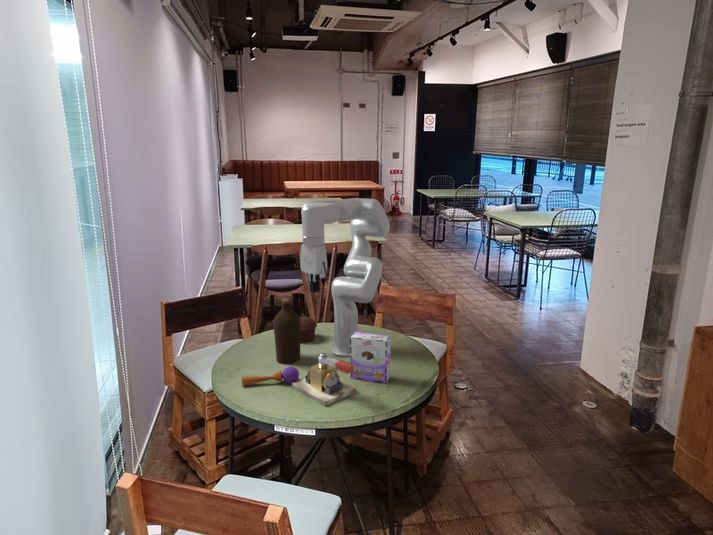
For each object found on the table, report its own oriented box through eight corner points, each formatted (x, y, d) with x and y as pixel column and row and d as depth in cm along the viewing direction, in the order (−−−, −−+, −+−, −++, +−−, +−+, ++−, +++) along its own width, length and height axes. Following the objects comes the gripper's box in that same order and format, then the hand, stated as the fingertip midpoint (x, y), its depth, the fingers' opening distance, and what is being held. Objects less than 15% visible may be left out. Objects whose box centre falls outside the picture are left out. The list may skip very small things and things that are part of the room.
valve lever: (316, 366, 169) (316, 354, 168) (323, 363, 171) (323, 351, 170) (347, 378, 159) (347, 366, 158) (353, 375, 162) (353, 363, 161)
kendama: (242, 371, 177) (298, 363, 179) (244, 387, 177) (299, 379, 180) (240, 375, 171) (298, 367, 173) (242, 392, 171) (299, 384, 174)
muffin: (300, 346, 207) (300, 324, 205) (285, 339, 215) (284, 318, 213) (322, 339, 215) (322, 318, 213) (307, 332, 223) (306, 311, 221)
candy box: (390, 377, 180) (391, 335, 176) (386, 384, 175) (386, 341, 171) (355, 371, 184) (355, 330, 181) (350, 378, 179) (349, 336, 175)
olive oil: (294, 366, 189) (292, 305, 183) (270, 362, 192) (266, 302, 186) (306, 355, 199) (304, 296, 193) (282, 352, 202) (280, 294, 196)
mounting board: (322, 374, 182) (322, 371, 182) (356, 391, 169) (356, 387, 169) (292, 387, 173) (292, 383, 172) (325, 406, 160) (325, 402, 160)
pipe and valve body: (319, 376, 178) (319, 358, 176) (343, 388, 168) (343, 369, 167) (304, 382, 173) (303, 364, 171) (328, 395, 164) (327, 376, 162)
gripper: (292, 239, 173) (293, 289, 178) (318, 245, 163) (320, 298, 167) (308, 236, 178) (310, 285, 183) (335, 242, 168) (336, 293, 172)
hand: (315, 291), depth 175 cm, fingers closed
